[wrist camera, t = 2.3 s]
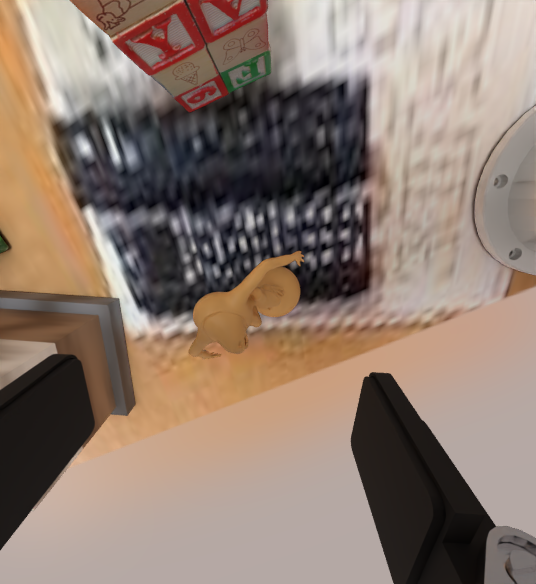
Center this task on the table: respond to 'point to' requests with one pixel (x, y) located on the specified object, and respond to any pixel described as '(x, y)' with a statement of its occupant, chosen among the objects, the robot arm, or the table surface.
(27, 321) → the white square block
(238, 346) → the figurine
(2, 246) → the chalk box
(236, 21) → the stack of blocks
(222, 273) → the table surface
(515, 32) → the table surface
